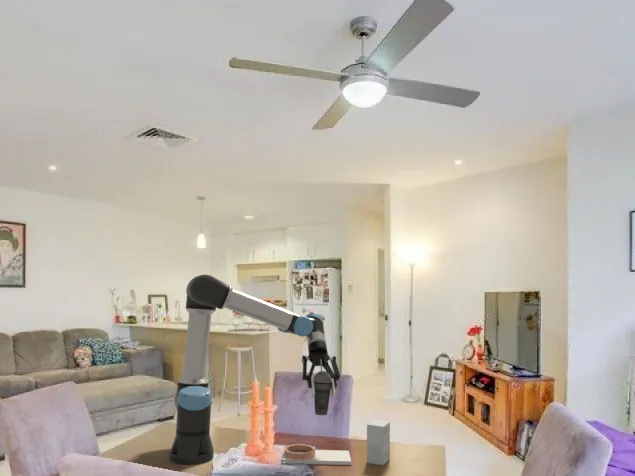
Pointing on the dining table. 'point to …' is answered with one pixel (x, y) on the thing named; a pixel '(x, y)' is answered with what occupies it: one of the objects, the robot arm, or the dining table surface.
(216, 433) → the dining table surface
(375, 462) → the small box
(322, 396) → the beverage cup
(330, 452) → the pale grey board
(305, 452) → the terracotta ring holder
